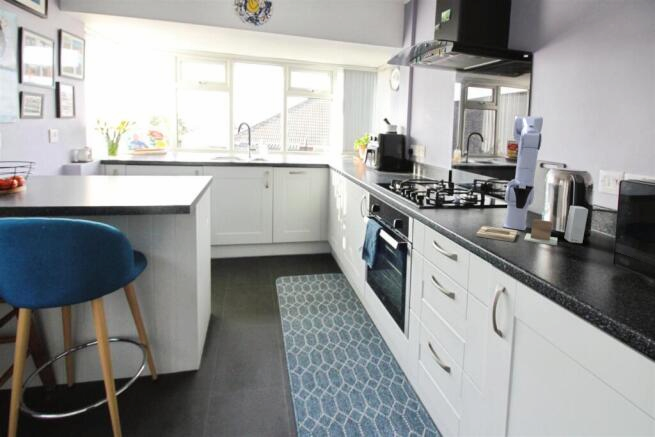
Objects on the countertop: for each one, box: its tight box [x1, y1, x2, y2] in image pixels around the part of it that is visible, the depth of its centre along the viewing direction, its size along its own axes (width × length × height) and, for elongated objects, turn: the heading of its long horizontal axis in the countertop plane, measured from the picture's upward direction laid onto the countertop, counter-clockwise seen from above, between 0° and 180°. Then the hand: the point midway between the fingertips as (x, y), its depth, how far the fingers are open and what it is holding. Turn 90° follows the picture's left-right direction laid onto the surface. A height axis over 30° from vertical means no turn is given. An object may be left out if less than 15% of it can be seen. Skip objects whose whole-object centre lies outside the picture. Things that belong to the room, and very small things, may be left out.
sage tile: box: [523, 232, 558, 246], centre depth 154 cm, size 10×10×1 cm
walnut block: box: [530, 218, 553, 241], centre depth 153 cm, size 4×6×6 cm, turn 64°
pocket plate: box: [475, 225, 518, 243], centre depth 157 cm, size 14×12×1 cm
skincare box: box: [564, 205, 589, 244], centre depth 154 cm, size 6×4×12 cm
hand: (520, 207), depth 156 cm, fingers open, 7 cm apart
